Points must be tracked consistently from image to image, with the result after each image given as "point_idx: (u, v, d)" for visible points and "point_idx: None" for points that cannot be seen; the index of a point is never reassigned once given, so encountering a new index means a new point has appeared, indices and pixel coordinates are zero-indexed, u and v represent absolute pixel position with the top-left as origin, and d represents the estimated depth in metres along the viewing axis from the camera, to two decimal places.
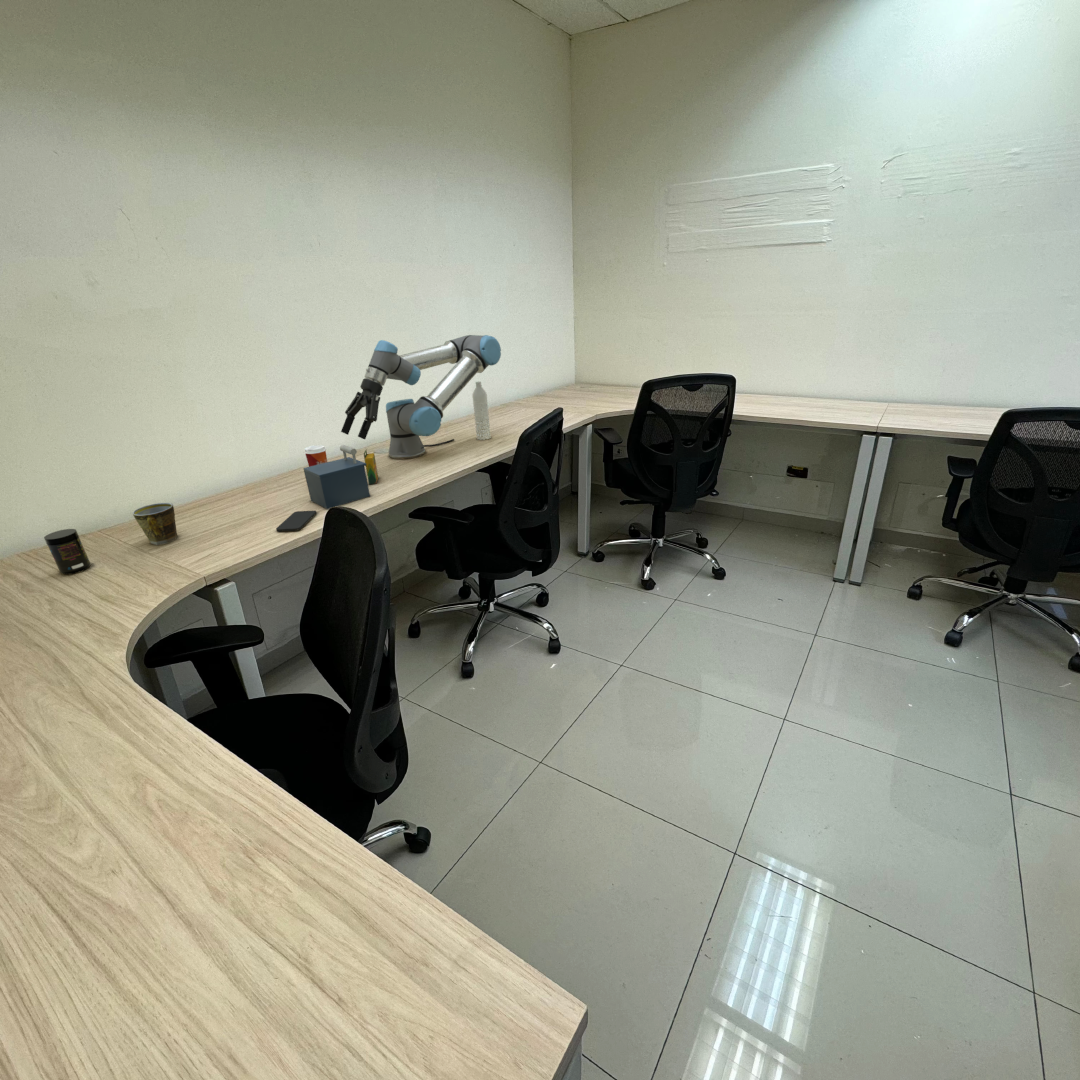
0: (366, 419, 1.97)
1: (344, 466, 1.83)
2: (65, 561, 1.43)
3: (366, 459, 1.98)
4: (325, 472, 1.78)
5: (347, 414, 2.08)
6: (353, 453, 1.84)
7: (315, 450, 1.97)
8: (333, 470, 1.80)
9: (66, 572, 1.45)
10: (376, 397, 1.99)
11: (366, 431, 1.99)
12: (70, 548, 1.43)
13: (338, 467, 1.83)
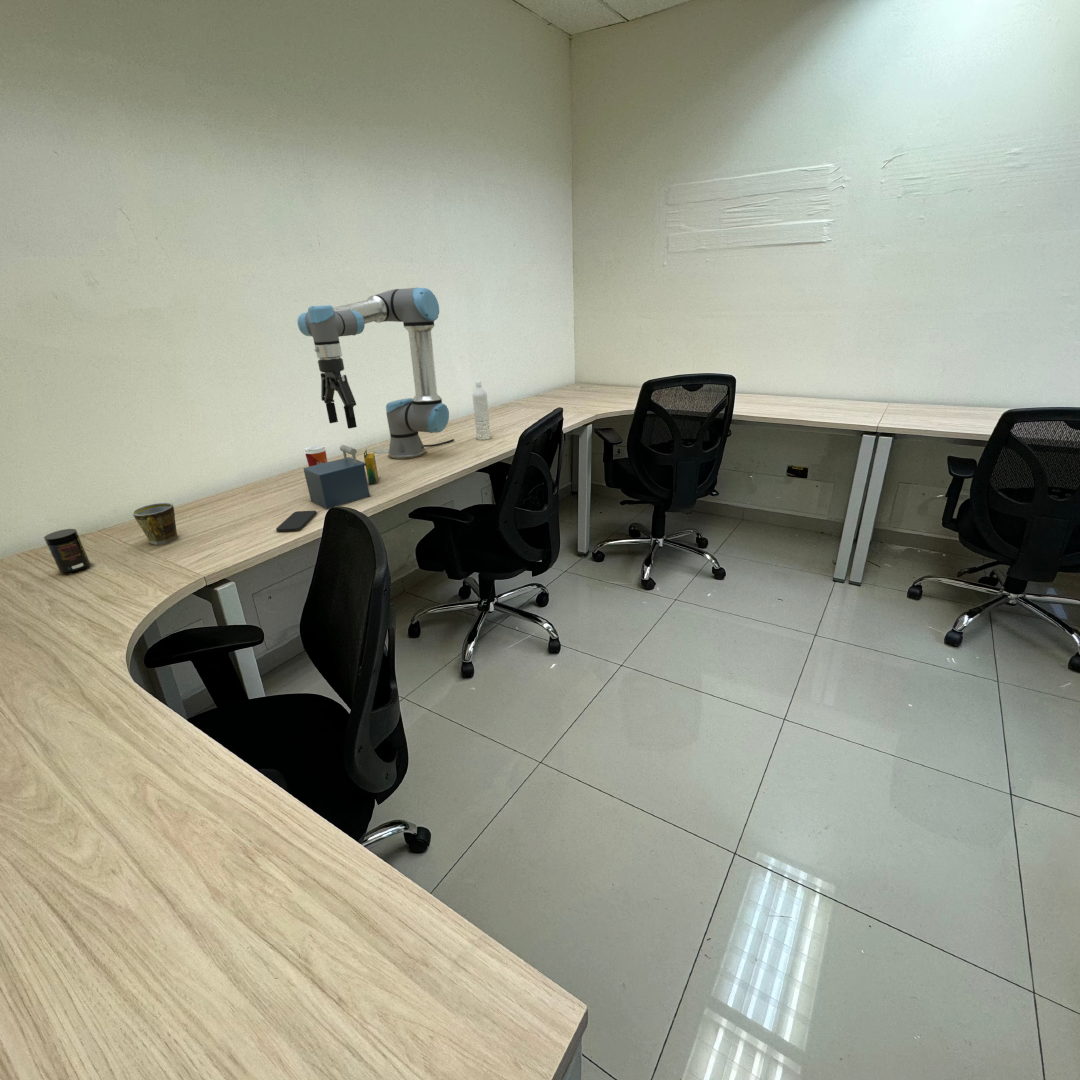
0: (346, 407, 1.74)
1: (344, 466, 1.83)
2: (65, 561, 1.43)
3: (366, 459, 1.98)
4: (325, 472, 1.78)
5: (325, 402, 1.84)
6: (353, 453, 1.84)
7: (315, 450, 1.97)
8: (333, 470, 1.80)
9: (66, 572, 1.45)
10: (342, 378, 1.72)
11: (353, 418, 1.78)
12: (70, 548, 1.43)
13: (338, 467, 1.83)
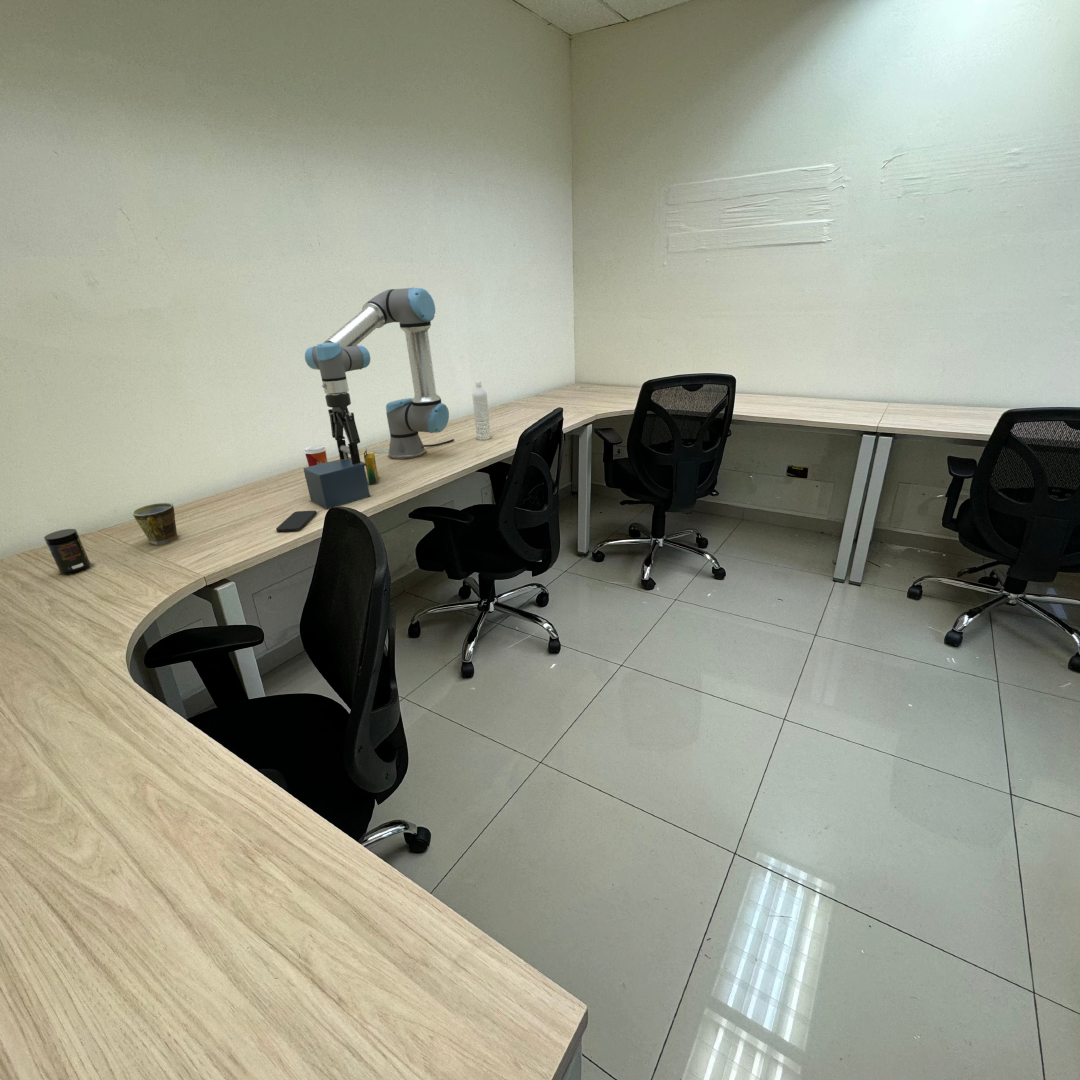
0: (350, 445, 1.81)
1: (344, 466, 1.83)
2: (65, 561, 1.43)
3: (366, 459, 1.98)
4: (325, 472, 1.78)
5: (336, 439, 1.88)
6: None
7: (315, 450, 1.97)
8: (333, 470, 1.80)
9: (66, 572, 1.45)
10: (349, 416, 1.77)
11: (357, 454, 1.84)
12: (70, 548, 1.43)
13: (338, 467, 1.83)
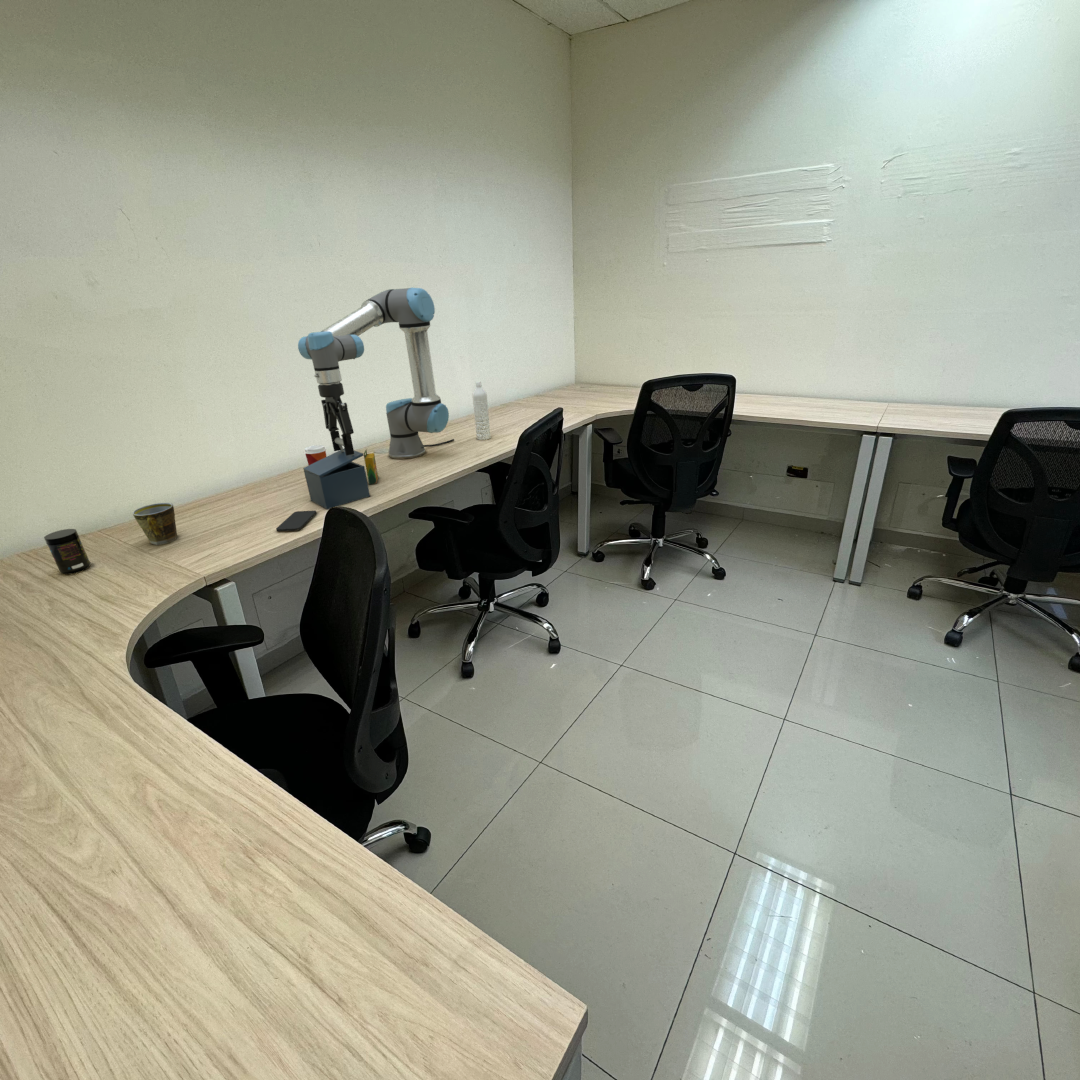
0: (343, 436, 1.79)
1: (342, 460, 1.82)
2: (65, 561, 1.43)
3: (366, 459, 1.98)
4: (324, 470, 1.78)
5: (329, 430, 1.86)
6: None
7: (315, 450, 1.97)
8: (332, 467, 1.79)
9: (66, 572, 1.45)
10: (342, 406, 1.75)
11: (350, 445, 1.82)
12: (70, 548, 1.43)
13: (336, 462, 1.82)
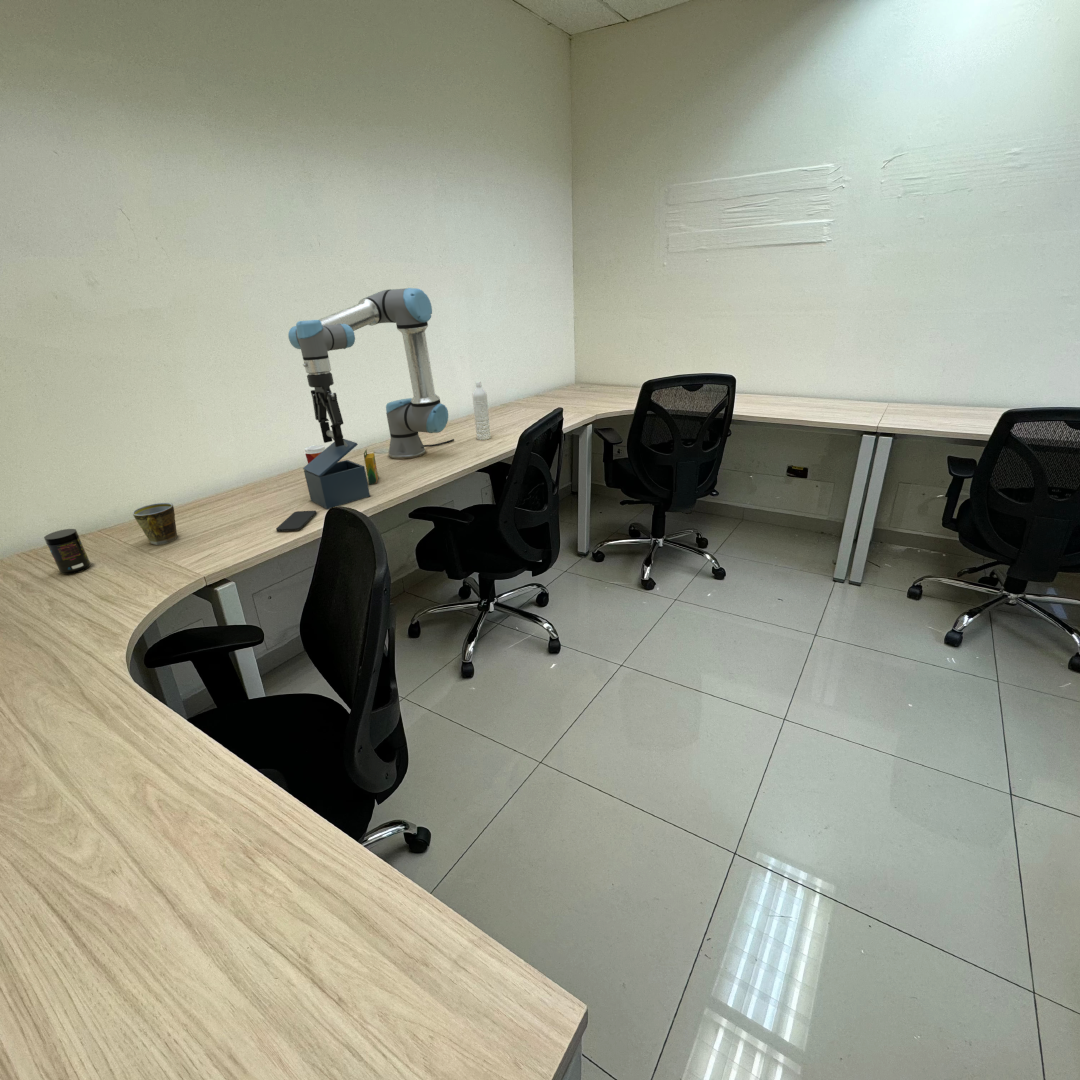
0: (333, 427, 1.75)
1: (338, 454, 1.81)
2: (65, 561, 1.43)
3: (366, 459, 1.98)
4: (323, 469, 1.77)
5: (319, 421, 1.82)
6: None
7: (315, 450, 1.97)
8: (329, 463, 1.78)
9: (66, 572, 1.45)
10: (332, 396, 1.71)
11: (340, 436, 1.79)
12: (70, 548, 1.43)
13: (333, 457, 1.81)
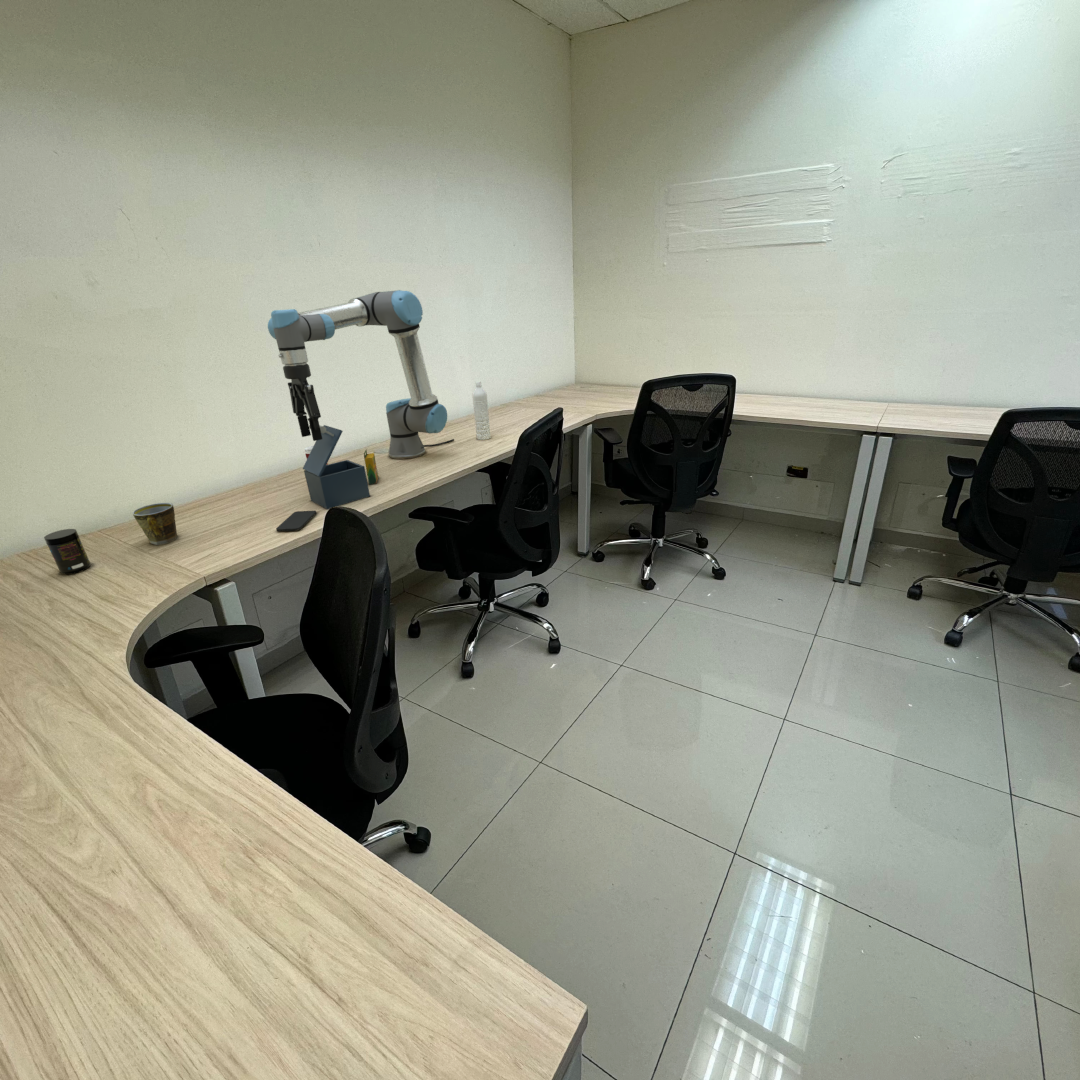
0: (310, 420, 1.70)
1: (328, 447, 1.78)
2: (65, 561, 1.43)
3: (366, 459, 1.98)
4: (320, 467, 1.77)
5: (296, 414, 1.77)
6: (324, 431, 1.75)
7: None
8: (324, 460, 1.77)
9: (66, 572, 1.45)
10: (308, 388, 1.66)
11: (318, 430, 1.73)
12: (70, 548, 1.43)
13: (325, 451, 1.78)
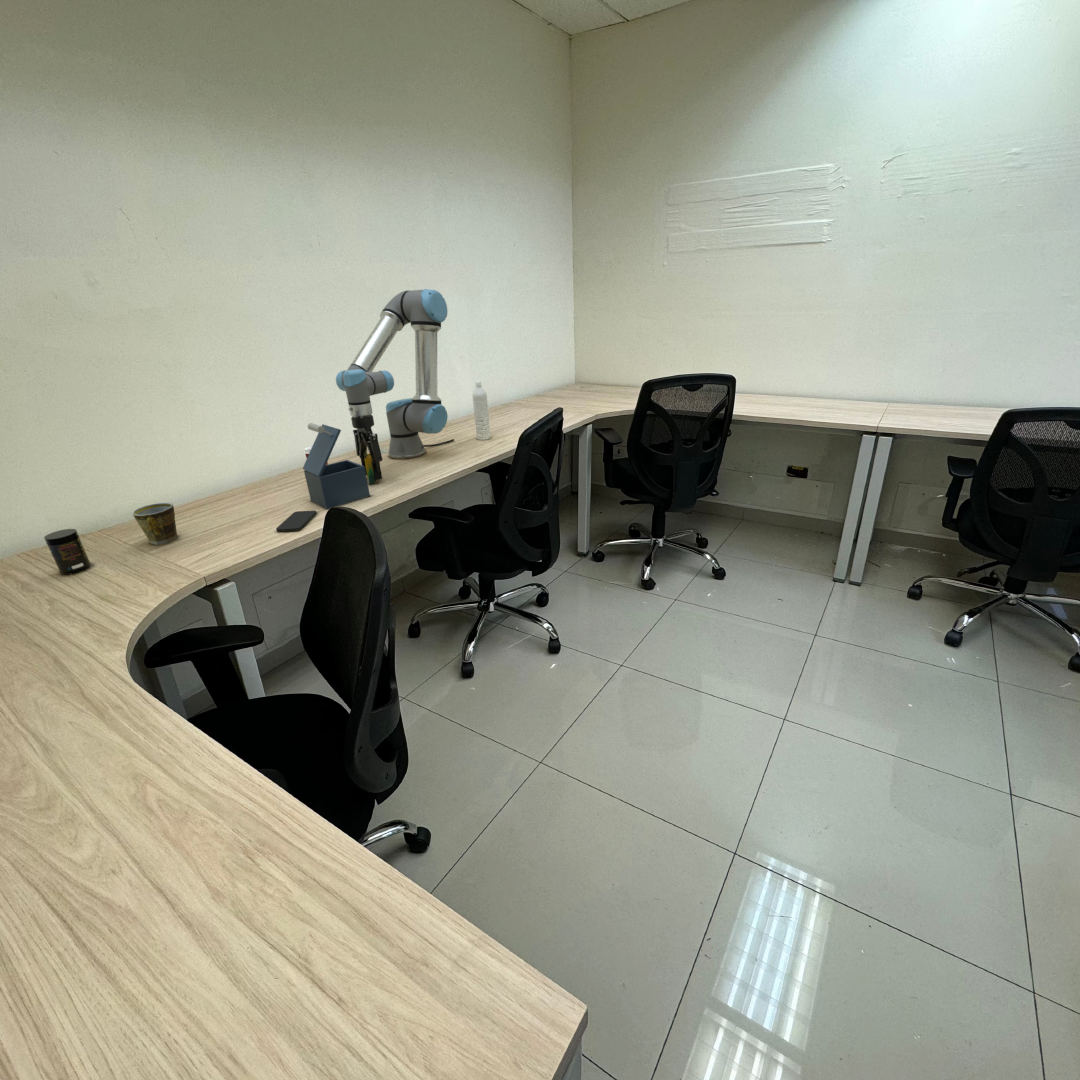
0: (373, 463, 1.98)
1: (327, 446, 1.78)
2: (65, 561, 1.43)
3: (366, 459, 1.98)
4: (320, 467, 1.77)
5: (360, 457, 2.04)
6: (322, 430, 1.75)
7: None
8: (323, 460, 1.77)
9: (66, 572, 1.45)
10: (373, 437, 1.93)
11: (379, 471, 2.01)
12: (70, 548, 1.43)
13: (324, 451, 1.78)
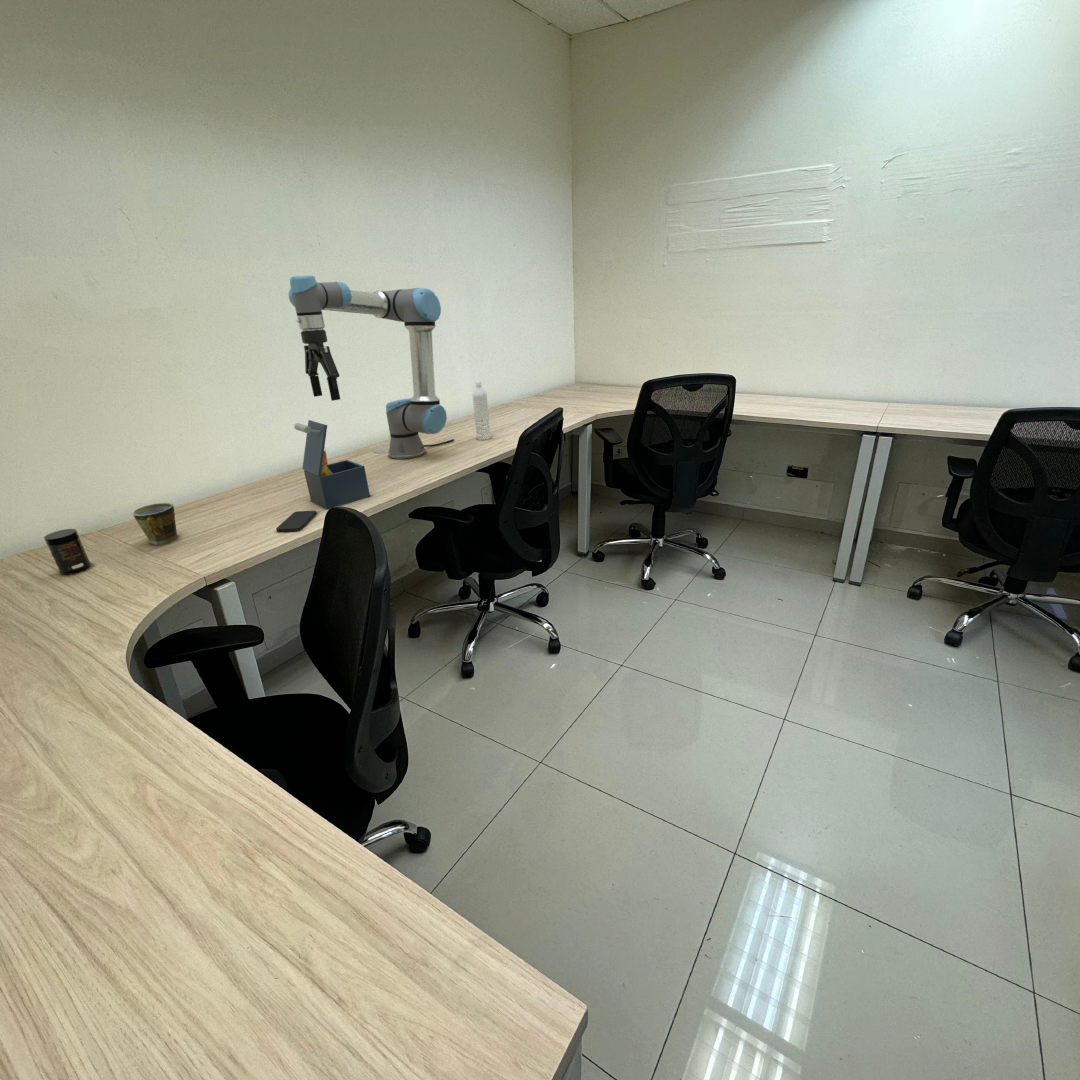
0: (329, 379, 1.74)
1: (318, 444, 1.75)
2: (65, 561, 1.43)
3: None
4: (317, 467, 1.76)
5: (309, 375, 1.84)
6: (309, 430, 1.72)
7: None
8: (318, 459, 1.75)
9: (66, 572, 1.45)
10: (324, 349, 1.72)
11: (336, 390, 1.77)
12: (70, 548, 1.43)
13: (317, 449, 1.76)
